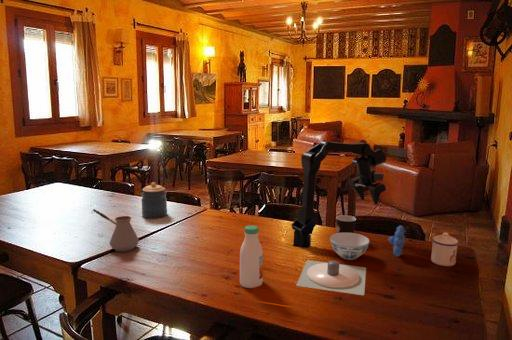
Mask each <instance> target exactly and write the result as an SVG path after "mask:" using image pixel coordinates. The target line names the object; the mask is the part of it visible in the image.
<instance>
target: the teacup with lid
mask: <svg viewBox="0 0 512 340" xmlns="http://www.w3.org/2000/svg"><path fill="white" fill-rule="evenodd" d="M431 241H432V245H431V246H432V247H431V254H430V255H431V256H430V261H431V262H432V263H434V264H436V265H438V266H443V267H444V266H445V267H452V266H454V265H456V263H457V262H456V261H457V251H458V245H459V241H458V239H456V238H455V237H452V236H451V235H449V232H443V233H442V234H439V235H434V236H433V237H432V240H431Z"/></svg>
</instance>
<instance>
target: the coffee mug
mask: <svg viewBox="0 0 512 340" xmlns="http://www.w3.org/2000/svg"><path fill="white" fill-rule="evenodd" d="M335 221H336V233H354V232H355V227H356V222H357V218H356V217H354V216H352V215H345V214H344V215H337V216H336V217H335Z"/></svg>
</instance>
